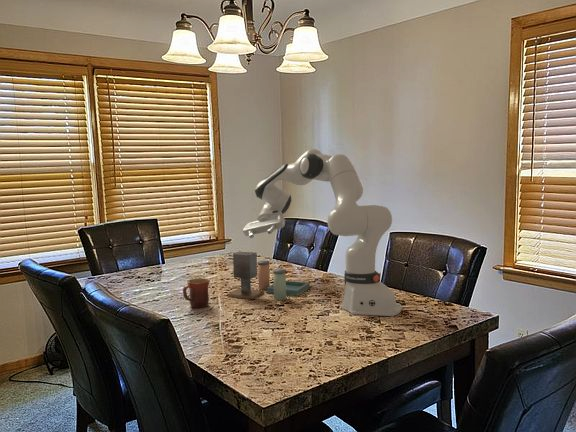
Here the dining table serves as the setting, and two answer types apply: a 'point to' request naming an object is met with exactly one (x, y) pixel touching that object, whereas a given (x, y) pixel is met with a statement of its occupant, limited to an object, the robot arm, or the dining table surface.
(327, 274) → the dining table surface
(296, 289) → the tray
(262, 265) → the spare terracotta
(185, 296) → the mug
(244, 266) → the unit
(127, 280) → the dining table surface
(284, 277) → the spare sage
